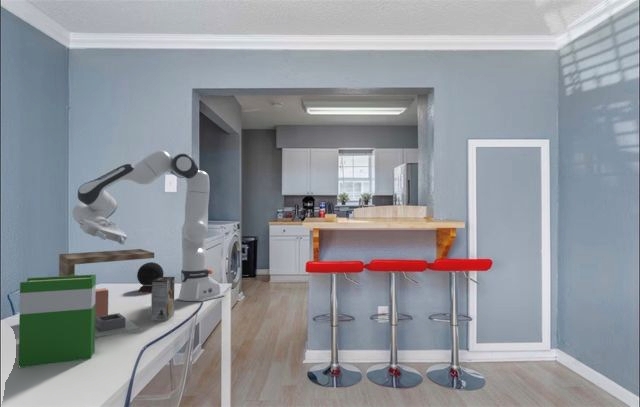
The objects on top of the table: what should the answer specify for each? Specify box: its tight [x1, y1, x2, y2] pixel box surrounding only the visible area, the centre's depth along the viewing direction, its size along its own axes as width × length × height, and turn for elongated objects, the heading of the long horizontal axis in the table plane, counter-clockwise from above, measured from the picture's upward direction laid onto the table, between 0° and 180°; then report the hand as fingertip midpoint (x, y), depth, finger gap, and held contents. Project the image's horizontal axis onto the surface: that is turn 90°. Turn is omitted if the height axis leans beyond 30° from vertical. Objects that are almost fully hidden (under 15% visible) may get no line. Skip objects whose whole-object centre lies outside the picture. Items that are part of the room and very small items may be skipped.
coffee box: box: [150, 276, 175, 322], centre depth 157 cm, size 9×6×16 cm
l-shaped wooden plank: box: [58, 248, 155, 276], centre depth 142 cm, size 28×16×28 cm, turn 133°
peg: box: [95, 287, 109, 317], centre depth 153 cm, size 4×4×12 cm
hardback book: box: [18, 274, 97, 368], centre depth 115 cm, size 18×7×24 cm, turn 113°
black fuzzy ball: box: [136, 261, 164, 293], centre depth 208 cm, size 13×13×15 cm
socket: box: [95, 312, 140, 339], centre depth 143 cm, size 16×16×4 cm
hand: (114, 240), depth 163 cm, fingers open, 8 cm apart
